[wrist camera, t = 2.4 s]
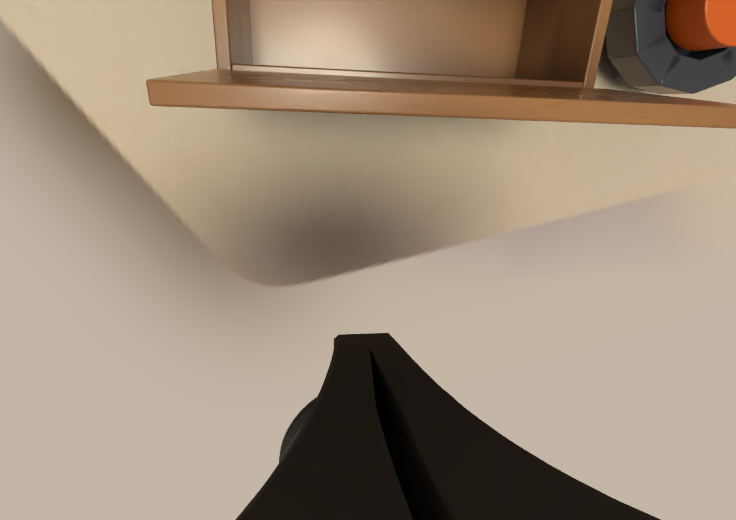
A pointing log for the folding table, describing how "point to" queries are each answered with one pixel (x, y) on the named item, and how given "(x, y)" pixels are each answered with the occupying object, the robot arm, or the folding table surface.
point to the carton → (416, 39)
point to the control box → (660, 52)
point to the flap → (431, 99)
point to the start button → (701, 23)
